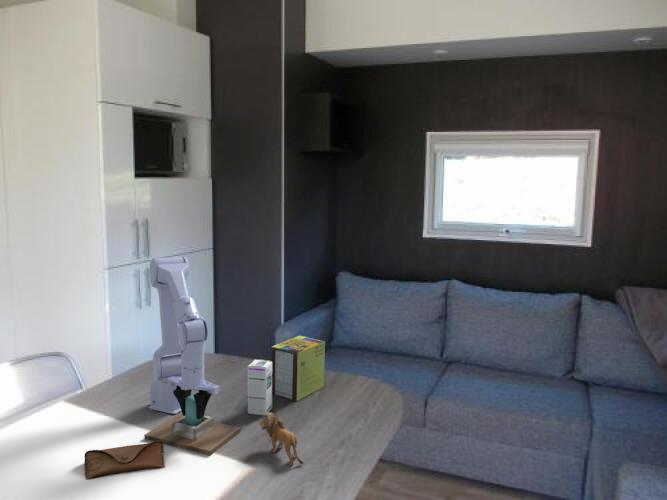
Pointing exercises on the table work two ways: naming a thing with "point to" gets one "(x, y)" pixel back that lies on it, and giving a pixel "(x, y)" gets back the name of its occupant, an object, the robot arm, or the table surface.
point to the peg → (191, 412)
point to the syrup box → (260, 387)
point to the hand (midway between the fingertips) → (193, 415)
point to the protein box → (297, 367)
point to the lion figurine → (280, 435)
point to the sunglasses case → (123, 459)
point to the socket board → (193, 434)
